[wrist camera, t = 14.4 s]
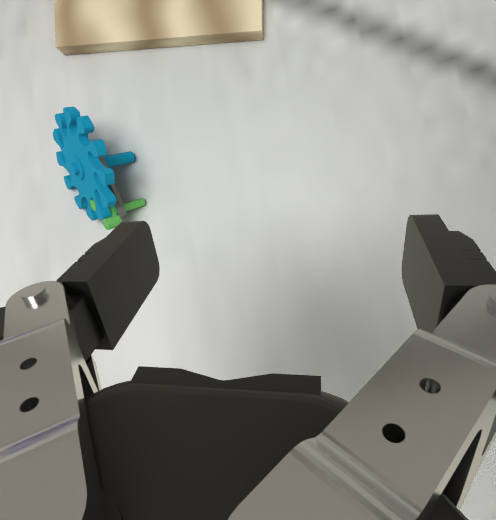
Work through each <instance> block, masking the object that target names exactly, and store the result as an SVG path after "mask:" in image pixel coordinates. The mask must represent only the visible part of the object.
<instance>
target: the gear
mask: <svg viewBox="0 0 496 520" xmlns="http://www.w3.org/2000/svg"><path fill="white" fill-rule="evenodd" d="M63 111H64V113H60V114H56V115H55V120H56V122H57V124H58V126H59V129H54V131H53V137H54V140H55V141H56V143H57V144H58V145H59V146H60V148H61V150H62V151H60V152H56V154H57V161H58V164H59V165H60V166H64V167H65V168H66V169H67V171H68V172H69V174H70V175H68V176H64V180H65V183H66V186H67V188H68V189H73V188H77V189H78V191H79V195H78V196H75V201H76V203H77V205H78V207H79V209H83V208H86V207H87V208H86V213H87V215H88V217H89V218H90V219H91V220H92V221H93V220H96V219H103V225H104V227H105V228H106V229H107V230H109V229H112V228H115V227H117V226H118V225H119V224H120V223H121V222H122V221H121V218H122V217H125V216H126V211H128V210H132V209H135V208H138V207H142V206H145V200H144V199H143V198H142V199H138V200H135V201H131V202H128V203H124V204H123V202H122V199H121V197H120V194H119V192H118V190H117V187H116V185H115V176H114V171H113V170H112V169H111V168H109V167H113V166H118V165H123V164H127V163H132V162H134V161H135V157H134V154H133V153H132V152H126V153H121V154H116V155H110V156H106V155H107V150H106V147H105V144H104V141H103V140H102V139H99V140H93V141H91V142H90V141H89V138H88V133H91V132H93V131H94V126H93V123H92V121H91V120H90V118H89V117H88V116H81V117H80V112H79V111H78V110H77V109H76V108H75V107H66V108H64V109H63ZM103 156H105V157H103Z"/></svg>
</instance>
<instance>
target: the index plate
mask: <svg viewBox="0 0 496 520" xmlns="http://www.w3.org/2000/svg"><path fill="white" fill-rule="evenodd" d="M55 39H56V48H57V49H58V50H60V51H61V52H62V53H63V54H64V55H72V54H85V53H98V52H111V51H124V50H136V49H149V48H162V47H175V46H188V45H201V44H214V43H227V42H239V41H252V40H263V0H55Z"/></svg>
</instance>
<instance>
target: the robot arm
mask: <svg viewBox="0 0 496 520" xmlns="http://www.w3.org/2000/svg"><path fill="white" fill-rule="evenodd" d="M480 251H481V250H480V249H479V247H478V246H477V245H476V243H475V242H474V240H473V239H471V238H469V237H468V236H466V235H464V234H463V233H461V232H459V231H448V229H447V227H446V226H445V224H444V222H443V221H442V219H441V218H440V216H439V215H410V216H409V218H408V221H407V227H406V236H405V244H404V252H403V260H402V279H403V284H404V287H405V290H406V293H407V297H408V300H409V303H410V306H411V309H412V312H413V316H414V319H415V322H416V325H417V328H418V330H417V331H415V332H414V333H413V334H412V335H411V337H410V338H409V339H408V340H407V341H406V342H405V343H404V344H403V345H402V346H401V347H400V348H399V349H398V351H397V352H396V353H395V354H394V355H393V356H392V357H391V358H390V359H389V360H388V361H387V362H386V363H385V365H384V366H383V367H382V368H381V369H380V370H379V371H378V372H377V373H376V374H375V375H374V376H373V377H372V379H371V380H370V381H369V382H368V383H367V384H366V385H365V386H364V387H363V388H362V389H361V390H360V391H359V393H358V394H357V395H356V396H355V397H354V398H353V399H352V400H351V401H350V402H347V401H345V400H344V399H342V398H339V397H337V396H334V395H332V394H329V393H325V392H322V391H321V376H309V375H290V374H267V375H260V376H253V377H247V378H240V379H233V380H225V381H224V380H217V379H214V378H211V377H207V376H204V375H200V374H197V373H193V372H190V371H187V370H183V369H177V368H158V367H138V369H137V371H136V373H135V374H134V376H133V378H132V380H131V381H126V382H122V383H119V384H115V385H112V386H109V387H107V388H104V389H102V388H101V384H100V380H99V376H98V372H97V367H96V363H95V361H94V358H93V356H92V353H93V351H94V350H95V349H104V350H113V349H114V348H115V346H116V344H117V343H118V341H119V340H120V338H121V337H122V335H123V333H124V332H125V330H126V329H127V327H128V326H129V324H130V323H131V321H132V319H133V318H134V316H135V315H136V313H137V312H138V310H139V308H140V307H141V305H142V304H143V302H144V301H145V299H146V298H147V296H148V294H149V293H150V291H151V290H152V288H153V287H154V285H155V283H156V282H157V280H158V277H159V261H158V257H157V254H156V250H155V246H154V242H153V238H152V234H151V230H150V227H149V225H148V224H147V222H145V221H134V222H121V223H120V224H119V225H118V226H117V227H116V228H115V229H114V230H113V231H112V232H111V233H110V234H109V235H108V236H107V237H106V238H104V239H102V240H101V241H99V242H97V243H95V244H94V245H93V246H92V247H91V248H90V249H89V250H88V251H87V252H85V255H82V256H81V257H80V258H79V259H78V262H75V263H74V264H73V265H72V266H71V267H70V268H69V269H68V270H67V271H66V272H65V273H64V274H63V275H62V276H61V277H60V278H59V279H58V280H57V281H46V282H40V283H36V284H33V285H30V286H28V287H25V288H23V289H21V290H20V291H18V292H16V293H15V294H14V295H12V296H11V297H10V298H9V300H8V301H7V303H6V306H5V307H2V308H0V520H468V519H467V518H466V517H465V516H464V515H463V514H462V513H461V512H460V511H459V510H460V508H461V506H462V504H463V502H464V500H465V498H466V496H467V493H468V491H469V489H470V487H471V484H472V482H473V480H474V477H475V475H476V473H477V471H478V469H479V467H480V465H481V464H482V462H483V460H484V458H485V456H486V454H487V452H488V451H489V449H490V447H491V445H492V443H493V441H494V440H495V438H496V271H495V270H494V269H493V267H492V266H491V264H490V263H489V262H488V261H487V259H486V257H485V256H484V254H483V253H482V252H480Z"/></svg>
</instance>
